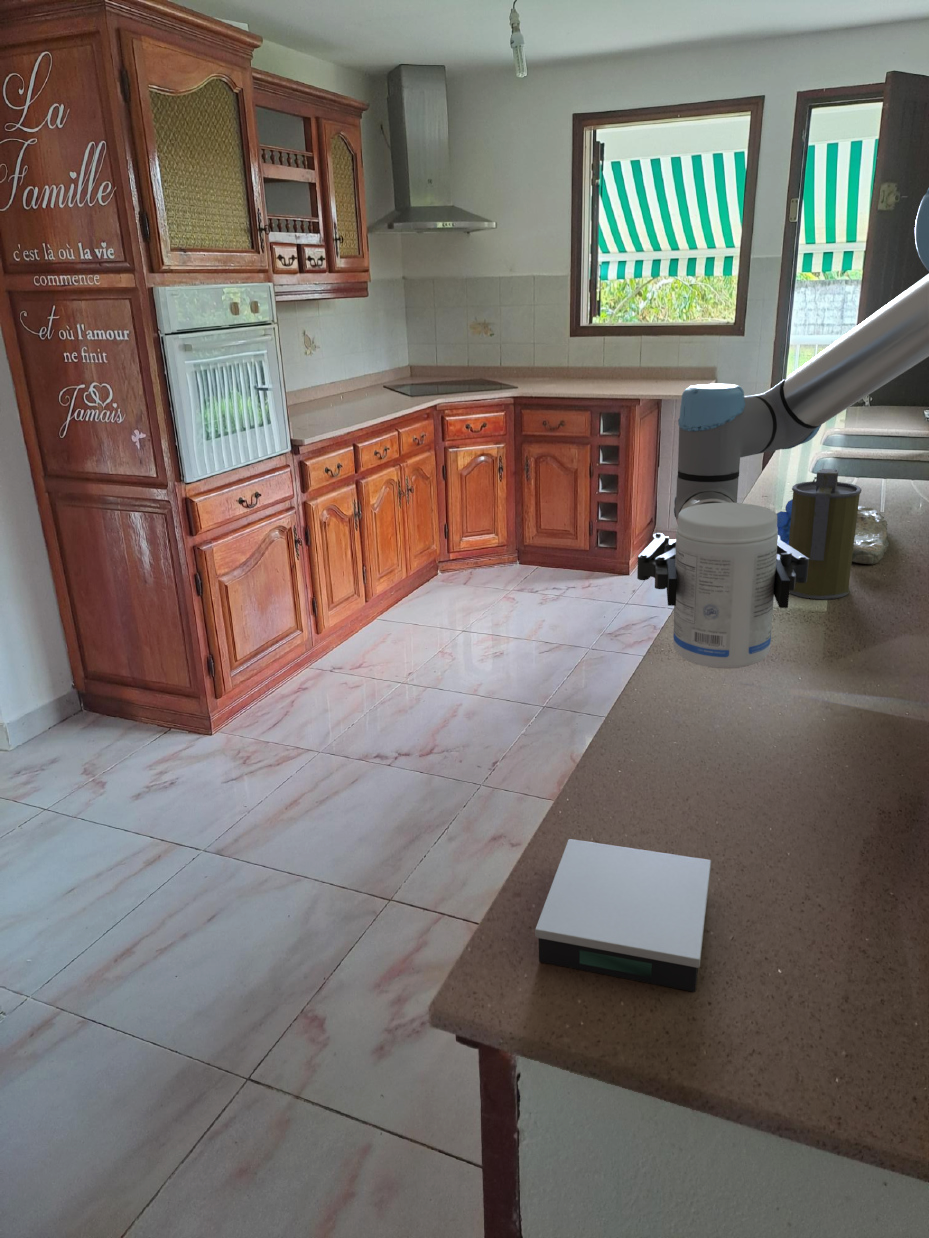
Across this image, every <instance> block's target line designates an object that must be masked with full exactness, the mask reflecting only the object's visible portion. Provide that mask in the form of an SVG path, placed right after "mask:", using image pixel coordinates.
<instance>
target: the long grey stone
mask: <svg viewBox="0 0 929 1238" xmlns="http://www.w3.org/2000/svg"><path fill="white" fill-rule="evenodd" d="M887 526H888V521H887V520H886V519H885V516H883V515H882V513H880V512H879V511H878V510H876V509H874V508H873V507H871V506H865V505H858V513H857V522H856V530H855V538H854V547H853V555H852V563H856V564H864V565H875V564H878V563H879V562H880V560H882V559H883V558H884V556H885V554H886V553H887V548H888V547H889V545H890V543H889V541H888V539H887V536H888V527H887Z"/></svg>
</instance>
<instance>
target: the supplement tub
mask: <svg viewBox="0 0 929 1238" xmlns="http://www.w3.org/2000/svg"><path fill="white" fill-rule="evenodd" d="M676 525H677V524H676ZM777 532H778V527H777V512H776V511H774V510H772V509H770V508H769V507H766V506H762V505H757V504H751V503H743V502H737V503H709V504H700V505H695V506H691V507H688V508H685V509H683V510H682V511H680V512H679V514H678V525H677V526H676V534H675V540H676V556H675V566H676V575H677V590H676V606H673V640H672V641H673V648H674V651H675V653H677V654H678V656H680V657H681V658H682V659H683V660H685V661H687V662H689V663H692V664H695V665H697V666H701V667H706V668H712V669H728V670H730V669H742V668H747V667H749V666H753V665H754V664H758V663H760V662H762V661H763V660H764V659H765V658H766V657H767V656H768V655H769V653H770V649H771V641H772V628H773V616H774V615H773V612H774V600H775V599H774V598H775V596H774V586H775V571H776V557H777V540H778V533H777Z"/></svg>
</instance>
